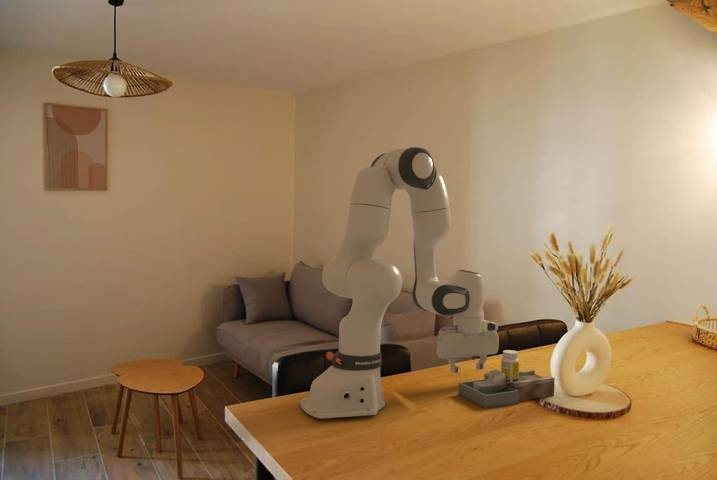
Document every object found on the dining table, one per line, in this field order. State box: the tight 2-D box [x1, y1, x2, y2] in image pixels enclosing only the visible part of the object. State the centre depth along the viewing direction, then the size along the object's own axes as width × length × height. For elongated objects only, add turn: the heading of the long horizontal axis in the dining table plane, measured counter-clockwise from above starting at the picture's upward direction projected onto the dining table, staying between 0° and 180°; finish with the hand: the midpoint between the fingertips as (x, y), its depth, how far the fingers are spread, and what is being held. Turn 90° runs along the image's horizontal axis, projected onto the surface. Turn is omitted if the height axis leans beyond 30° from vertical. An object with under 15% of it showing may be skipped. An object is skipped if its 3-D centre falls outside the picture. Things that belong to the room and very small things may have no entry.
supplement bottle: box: [500, 349, 520, 384], centre depth 151 cm, size 5×5×8 cm
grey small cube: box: [483, 368, 507, 392], centre depth 149 cm, size 4×4×4 cm
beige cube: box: [473, 381, 494, 395], centre depth 147 cm, size 4×4×4 cm
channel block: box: [507, 369, 555, 402], centre depth 153 cm, size 14×9×5 cm, turn 115°
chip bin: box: [457, 378, 520, 410], centre depth 148 cm, size 11×12×3 cm
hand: (467, 370), depth 161 cm, fingers open, 8 cm apart
